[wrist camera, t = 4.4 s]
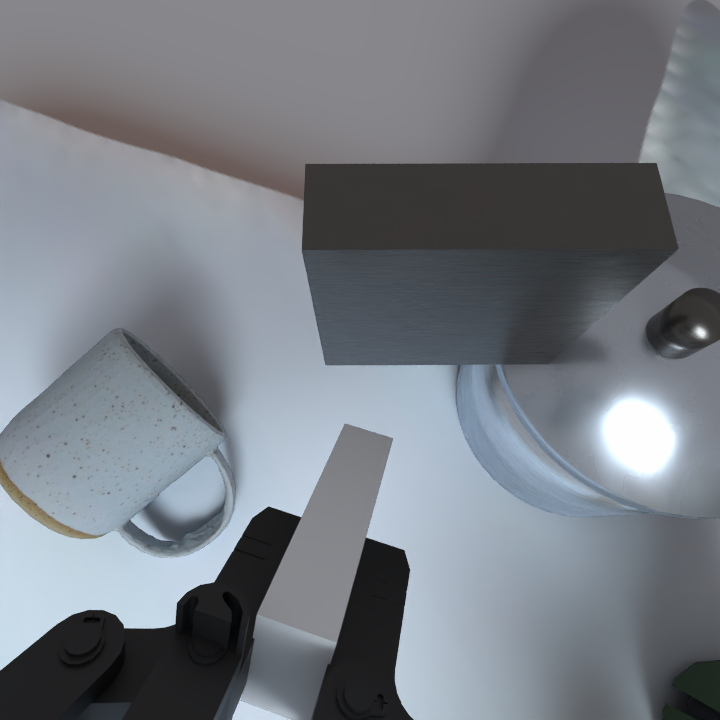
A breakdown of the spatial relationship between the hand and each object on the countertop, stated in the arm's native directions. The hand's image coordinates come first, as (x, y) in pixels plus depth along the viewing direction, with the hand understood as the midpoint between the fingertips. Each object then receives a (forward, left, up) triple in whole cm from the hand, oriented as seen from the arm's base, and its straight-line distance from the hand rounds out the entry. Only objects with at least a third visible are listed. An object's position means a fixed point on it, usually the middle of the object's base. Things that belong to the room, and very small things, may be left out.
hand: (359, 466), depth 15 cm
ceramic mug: (-10, -4, -13) cm, 17 cm away
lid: (+5, +9, -3) cm, 11 cm away
